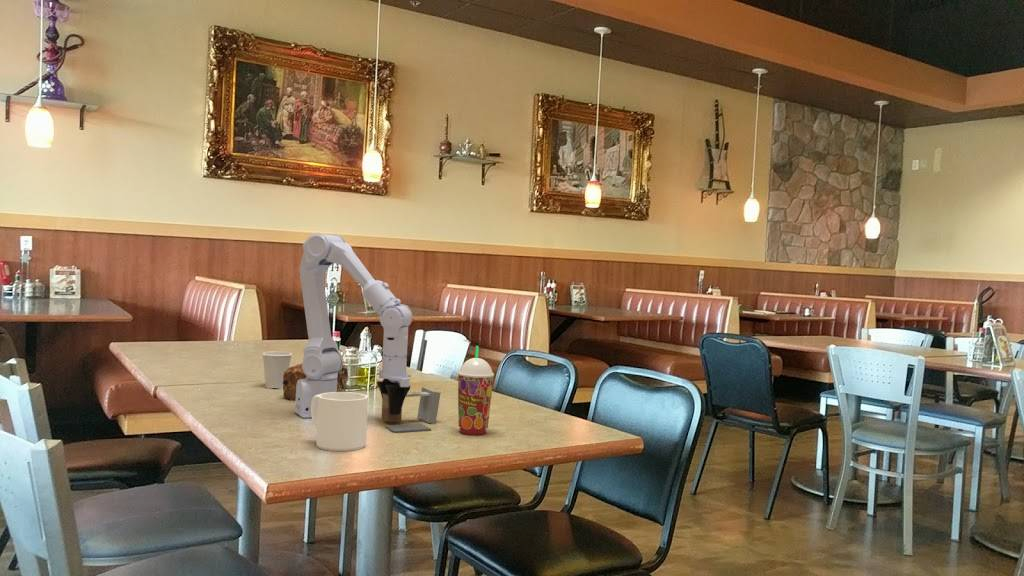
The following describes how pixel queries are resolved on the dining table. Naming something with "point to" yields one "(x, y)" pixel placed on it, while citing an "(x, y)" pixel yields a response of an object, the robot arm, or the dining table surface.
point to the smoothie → (474, 395)
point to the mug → (340, 420)
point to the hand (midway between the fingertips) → (392, 412)
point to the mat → (407, 428)
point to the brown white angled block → (386, 406)
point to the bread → (297, 373)
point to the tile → (429, 405)
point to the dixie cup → (275, 367)
